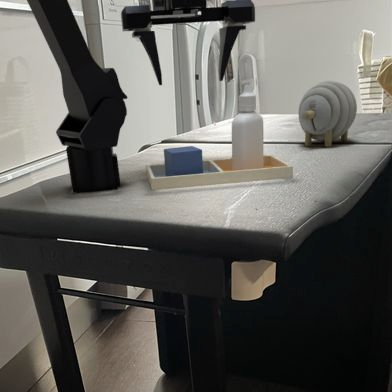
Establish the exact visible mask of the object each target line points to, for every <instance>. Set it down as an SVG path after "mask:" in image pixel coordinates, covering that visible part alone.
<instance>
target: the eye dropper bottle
mask: <svg viewBox="0 0 392 392" xmlns="http://www.w3.org/2000/svg"><path fill="white" fill-rule="evenodd" d="M238 111H239V112H238V114H237V115H236V116H235V117H234V118H232V120H231V158H232V171H237V170H249V169H260V168H263V156H264V118H263V116H262V115H261V114H260V113H258V112H257V94H255V93H253V92H252V90H251V84H244V87H243V92H242V93H241V94H240V95H238Z"/></svg>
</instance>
